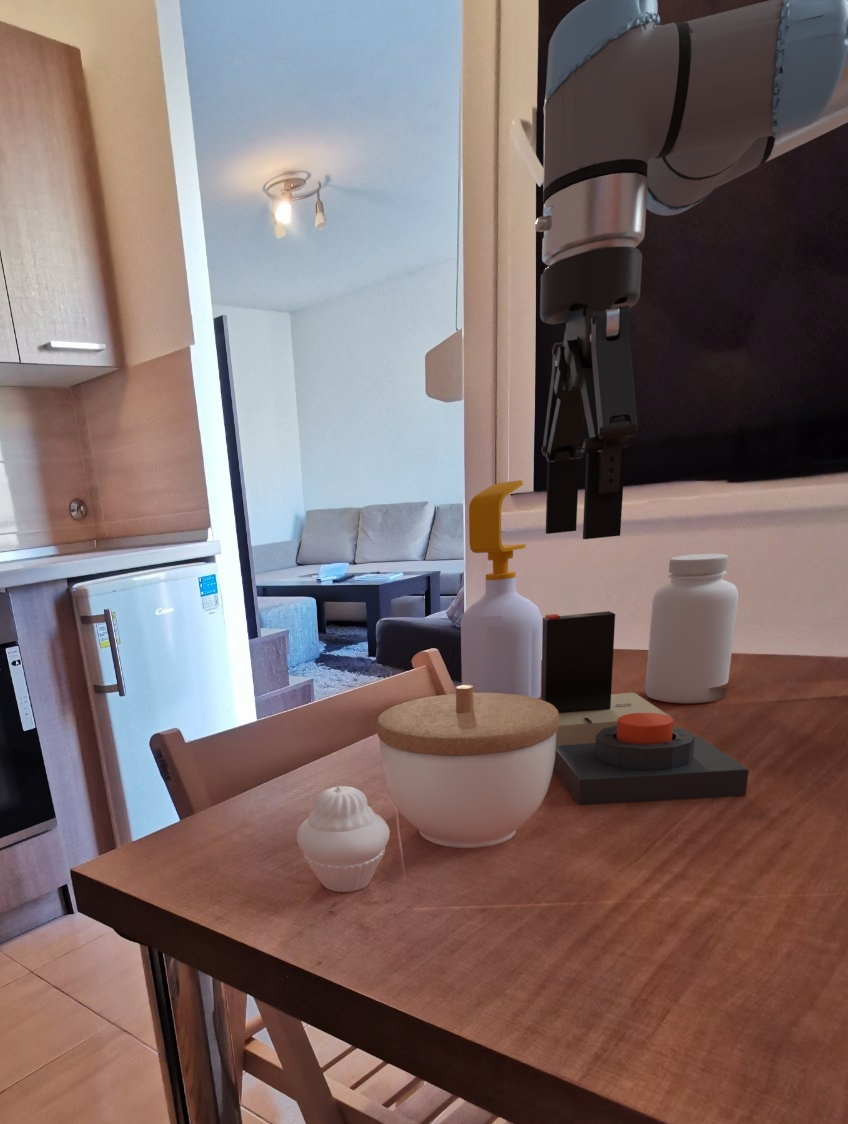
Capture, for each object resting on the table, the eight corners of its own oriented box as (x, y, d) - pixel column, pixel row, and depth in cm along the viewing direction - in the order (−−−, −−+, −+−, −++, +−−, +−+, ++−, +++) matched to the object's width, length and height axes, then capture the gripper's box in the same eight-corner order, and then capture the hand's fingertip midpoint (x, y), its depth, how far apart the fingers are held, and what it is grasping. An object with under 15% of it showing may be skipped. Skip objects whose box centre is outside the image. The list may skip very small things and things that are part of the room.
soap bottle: (556, 695, 91) (561, 475, 83) (506, 713, 87) (507, 481, 78) (495, 687, 98) (494, 483, 90) (446, 703, 94) (440, 490, 85)
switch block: (697, 760, 66) (701, 715, 65) (745, 796, 58) (751, 746, 56) (551, 769, 68) (552, 726, 67) (579, 805, 60) (580, 757, 58)
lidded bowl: (366, 859, 55) (356, 711, 51) (400, 797, 66) (393, 671, 62) (554, 870, 50) (558, 707, 46) (557, 801, 61) (561, 664, 57)
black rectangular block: (605, 704, 74) (609, 608, 71) (610, 708, 73) (615, 610, 70) (540, 709, 75) (542, 614, 72) (544, 713, 74) (547, 617, 71)
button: (661, 731, 63) (662, 710, 62) (680, 745, 59) (681, 723, 59) (610, 734, 64) (611, 714, 63) (625, 748, 60) (626, 727, 59)
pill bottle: (725, 706, 79) (741, 557, 74) (640, 704, 84) (649, 563, 79) (729, 688, 85) (744, 549, 80) (649, 687, 90) (659, 555, 85)
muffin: (304, 907, 49) (294, 807, 47) (298, 867, 55) (289, 776, 53) (400, 898, 49) (395, 796, 47) (383, 858, 55) (378, 766, 52)
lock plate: (632, 720, 79) (634, 690, 78) (669, 749, 69) (672, 715, 68) (492, 730, 81) (492, 701, 80) (510, 759, 72) (510, 727, 70)
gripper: (513, 303, 73) (510, 534, 81) (583, 210, 50) (570, 545, 58) (595, 291, 72) (585, 526, 80) (706, 190, 49) (677, 534, 57)
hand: (579, 535), depth 69 cm, fingers open, 13 cm apart
